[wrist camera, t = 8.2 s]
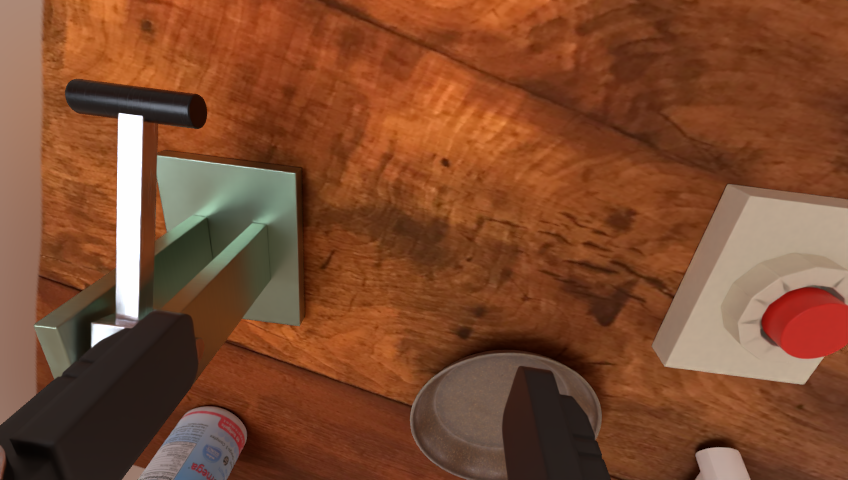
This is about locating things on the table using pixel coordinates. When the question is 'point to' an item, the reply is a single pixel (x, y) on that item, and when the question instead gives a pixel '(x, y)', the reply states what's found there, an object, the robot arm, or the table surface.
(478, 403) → the saucer
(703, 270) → the button box
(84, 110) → the tap handle
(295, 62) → the table surface
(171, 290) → the bracket
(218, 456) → the pill bottle
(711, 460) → the faucet
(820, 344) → the button
